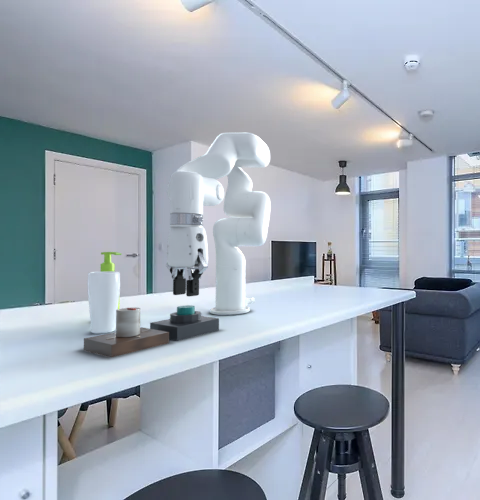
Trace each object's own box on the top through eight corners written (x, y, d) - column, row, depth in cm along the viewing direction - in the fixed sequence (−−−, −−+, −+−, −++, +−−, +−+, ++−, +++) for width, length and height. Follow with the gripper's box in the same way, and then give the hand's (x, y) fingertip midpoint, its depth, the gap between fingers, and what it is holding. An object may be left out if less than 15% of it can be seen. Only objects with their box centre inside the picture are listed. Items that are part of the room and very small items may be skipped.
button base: (192, 326, 94) (192, 308, 94) (219, 330, 90) (219, 311, 90) (149, 335, 84) (150, 315, 84) (177, 341, 79) (177, 319, 79)
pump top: (187, 312, 89) (187, 304, 89) (198, 314, 88) (198, 306, 88) (173, 315, 86) (173, 307, 86) (184, 316, 84) (184, 308, 84)
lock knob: (111, 335, 73) (111, 308, 73) (131, 331, 77) (132, 305, 77) (124, 338, 71) (124, 310, 71) (144, 333, 75) (145, 307, 75)
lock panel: (141, 337, 82) (141, 326, 82) (169, 343, 77) (169, 331, 77) (83, 350, 71) (83, 337, 71) (111, 357, 67) (111, 344, 67)
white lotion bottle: (94, 336, 83) (95, 273, 83) (81, 332, 86) (82, 272, 86) (125, 330, 89) (125, 272, 89) (112, 327, 92) (112, 271, 92)
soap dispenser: (109, 323, 97) (110, 252, 97) (89, 322, 98) (89, 251, 98) (127, 319, 103) (127, 251, 103) (107, 318, 104) (108, 251, 104)
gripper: (222, 222, 86) (221, 295, 86) (178, 224, 94) (177, 291, 94) (196, 219, 80) (196, 299, 80) (151, 221, 87) (150, 294, 87)
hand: (186, 294), depth 87 cm, fingers open, 4 cm apart
